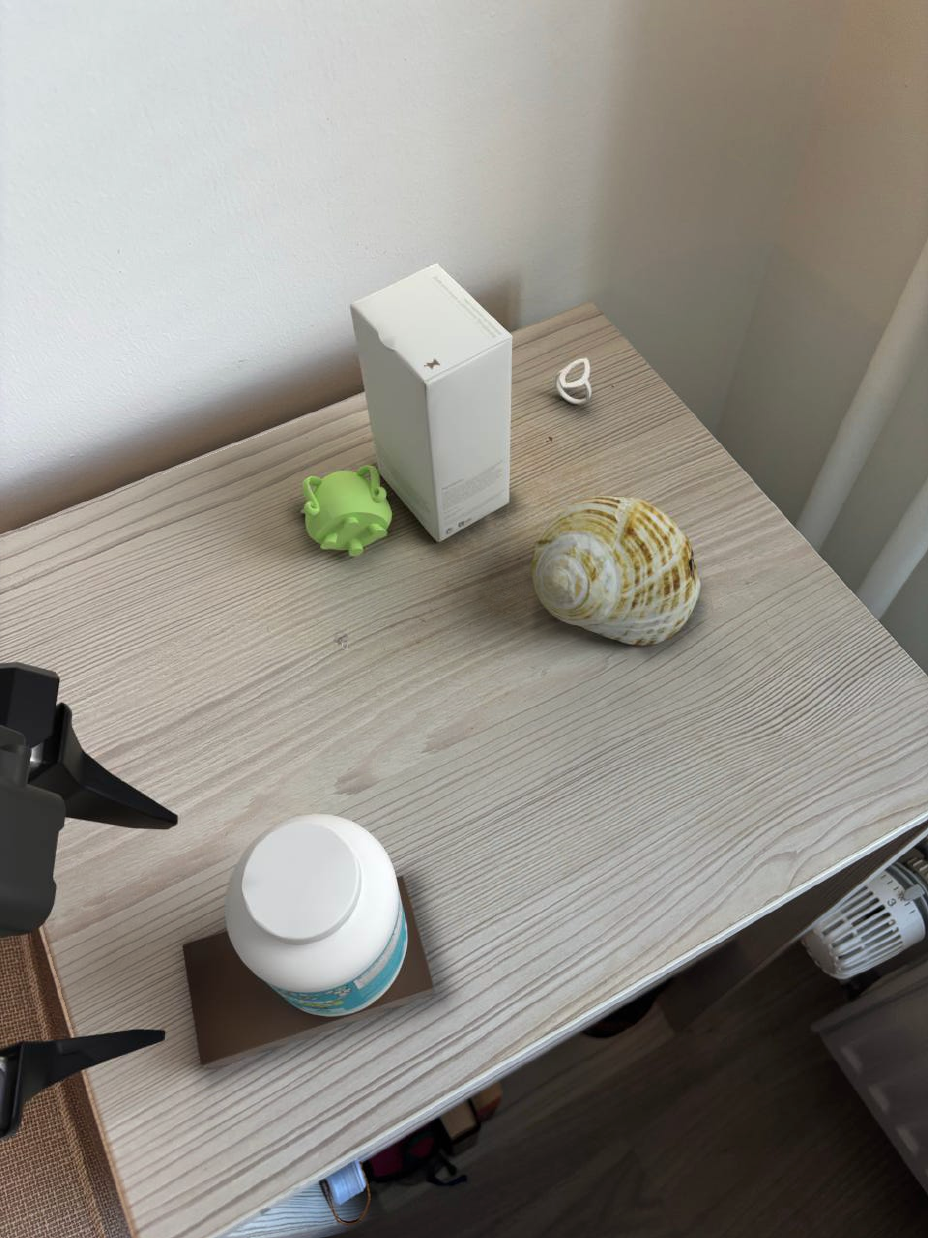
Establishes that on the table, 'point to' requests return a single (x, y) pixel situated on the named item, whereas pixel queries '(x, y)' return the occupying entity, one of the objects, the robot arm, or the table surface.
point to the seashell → (616, 570)
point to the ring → (581, 381)
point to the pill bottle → (318, 914)
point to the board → (277, 998)
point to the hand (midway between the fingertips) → (167, 924)
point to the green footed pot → (346, 509)
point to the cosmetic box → (437, 398)
